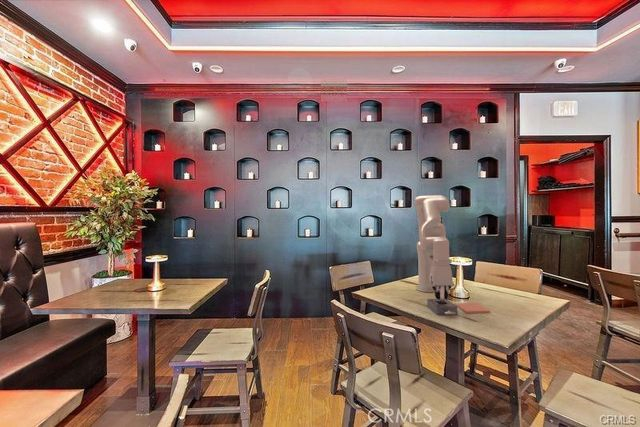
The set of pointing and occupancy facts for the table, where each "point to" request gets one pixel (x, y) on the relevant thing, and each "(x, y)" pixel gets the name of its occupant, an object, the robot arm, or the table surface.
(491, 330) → the table surface
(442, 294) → the steel peg
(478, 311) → the terracotta mat
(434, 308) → the vise block
